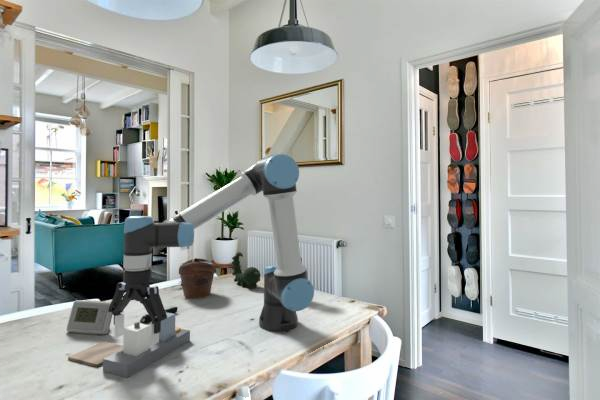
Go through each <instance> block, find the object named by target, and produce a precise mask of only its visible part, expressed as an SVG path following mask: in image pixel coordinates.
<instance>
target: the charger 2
mask: <svg viewBox="0 0 600 400" xmlns="http://www.w3.org/2000/svg"><path fill="white" fill-rule="evenodd" d="M165 312H166V311H165ZM166 315H167V319H165V320H162V321H161V331H160V332H159V341H166V340H168V339H170V338H172V337H174V336H175V327H176V313H174V314H173V313H167V312H166ZM156 318H157V317H156ZM151 322H153V321H151Z"/></svg>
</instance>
